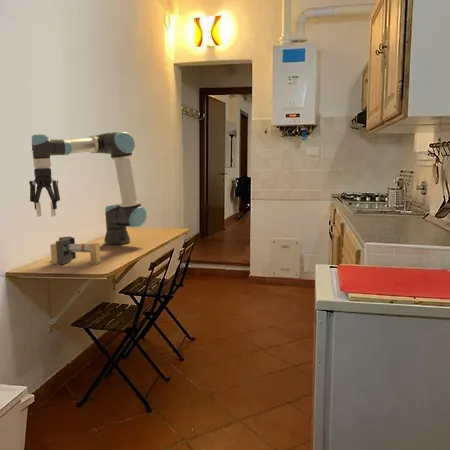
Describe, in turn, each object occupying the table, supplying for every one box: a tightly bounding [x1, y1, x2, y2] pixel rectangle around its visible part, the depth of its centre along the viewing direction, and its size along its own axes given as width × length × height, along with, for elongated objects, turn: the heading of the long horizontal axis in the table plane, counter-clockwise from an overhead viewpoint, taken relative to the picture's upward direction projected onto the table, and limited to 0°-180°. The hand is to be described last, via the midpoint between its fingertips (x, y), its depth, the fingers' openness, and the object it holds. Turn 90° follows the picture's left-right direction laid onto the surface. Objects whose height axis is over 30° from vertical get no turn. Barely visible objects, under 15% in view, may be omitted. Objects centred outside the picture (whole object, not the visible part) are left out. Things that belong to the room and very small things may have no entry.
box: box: [58, 236, 77, 260], centre depth 240 cm, size 8×6×11 cm
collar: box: [55, 239, 72, 265], centre depth 226 cm, size 3×8×11 cm, turn 171°
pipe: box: [50, 242, 102, 265], centre depth 225 cm, size 23×4×10 cm, turn 81°
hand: (46, 216), depth 225 cm, fingers open, 7 cm apart
